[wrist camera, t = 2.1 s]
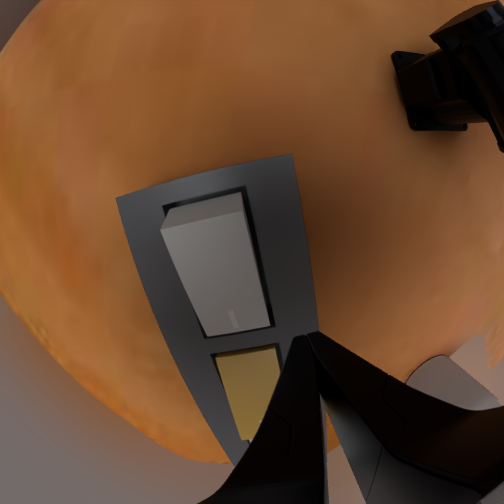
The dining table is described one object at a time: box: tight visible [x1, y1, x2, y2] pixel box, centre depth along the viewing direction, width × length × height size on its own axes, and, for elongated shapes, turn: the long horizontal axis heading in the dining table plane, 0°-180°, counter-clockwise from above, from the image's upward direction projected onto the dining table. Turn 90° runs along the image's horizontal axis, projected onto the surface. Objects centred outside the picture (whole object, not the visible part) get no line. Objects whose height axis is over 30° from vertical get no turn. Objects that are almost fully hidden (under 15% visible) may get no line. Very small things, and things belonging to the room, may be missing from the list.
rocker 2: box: [216, 343, 281, 440], centre depth 17 cm, size 4×7×2 cm, turn 12°
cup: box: [406, 355, 501, 410], centre depth 18 cm, size 9×9×12 cm
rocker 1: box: [160, 192, 270, 337], centre depth 14 cm, size 4×7×2 cm, turn 12°
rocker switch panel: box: [116, 154, 327, 467], centre depth 19 cm, size 9×28×5 cm, turn 12°
